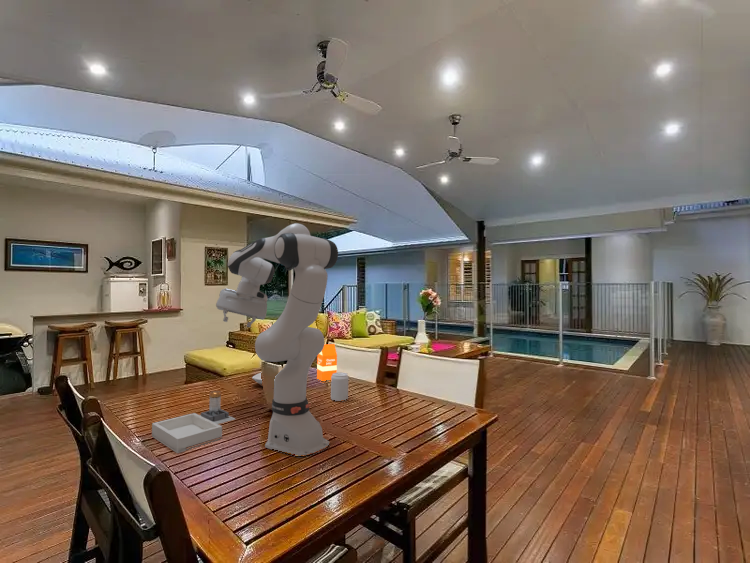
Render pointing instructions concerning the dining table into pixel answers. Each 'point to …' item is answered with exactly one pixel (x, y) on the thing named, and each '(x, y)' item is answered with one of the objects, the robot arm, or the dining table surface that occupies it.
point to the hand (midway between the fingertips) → (236, 324)
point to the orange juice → (326, 362)
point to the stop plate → (218, 417)
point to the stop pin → (214, 403)
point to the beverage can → (339, 386)
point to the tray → (186, 432)
